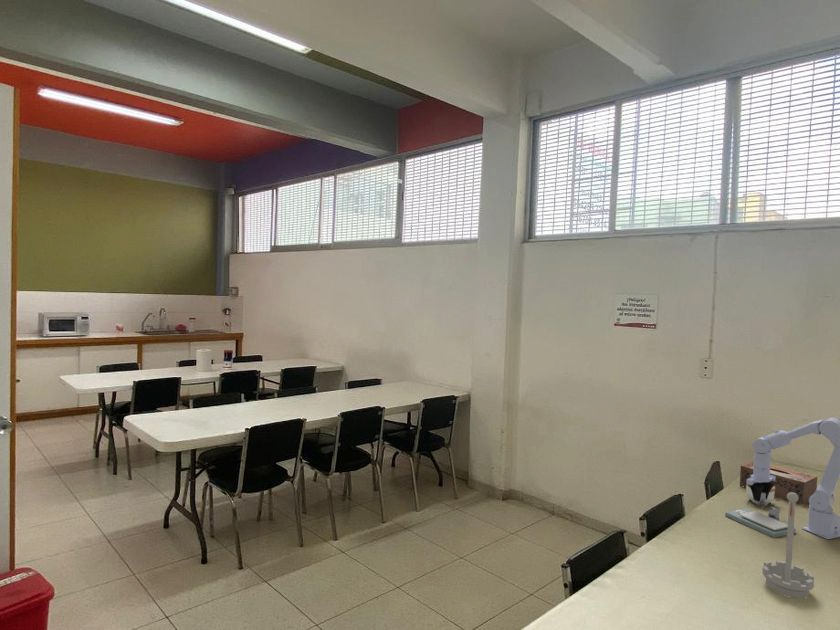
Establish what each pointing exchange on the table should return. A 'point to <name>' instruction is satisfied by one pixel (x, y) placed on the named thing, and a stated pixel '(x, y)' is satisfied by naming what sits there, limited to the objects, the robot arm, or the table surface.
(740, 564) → the table surface
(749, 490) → the lidded jar
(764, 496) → the cylinder
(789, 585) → the flag stand
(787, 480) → the tissue box cover
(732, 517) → the scale
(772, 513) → the cylinder
